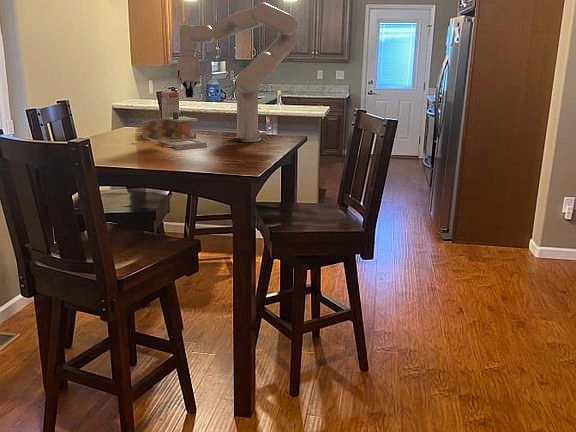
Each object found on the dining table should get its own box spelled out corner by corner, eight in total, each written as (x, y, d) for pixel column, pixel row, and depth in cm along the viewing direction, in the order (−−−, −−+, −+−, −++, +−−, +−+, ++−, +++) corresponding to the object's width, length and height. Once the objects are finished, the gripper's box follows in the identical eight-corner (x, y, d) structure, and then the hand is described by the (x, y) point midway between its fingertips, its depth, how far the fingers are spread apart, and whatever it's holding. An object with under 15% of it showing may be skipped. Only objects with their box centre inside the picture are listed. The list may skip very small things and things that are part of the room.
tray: (189, 143, 246) (189, 138, 246) (206, 147, 236) (206, 142, 235) (160, 145, 238) (160, 140, 237) (176, 150, 227) (176, 144, 227)
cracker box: (180, 137, 262) (179, 92, 256) (167, 138, 260) (165, 92, 254) (174, 133, 275) (173, 90, 269) (162, 134, 272) (160, 90, 267)
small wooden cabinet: (186, 137, 262) (186, 118, 259) (200, 141, 252) (200, 121, 250) (142, 141, 249) (141, 121, 246) (156, 145, 239) (155, 124, 236)
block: (185, 136, 254) (185, 121, 252) (190, 137, 251) (189, 122, 249) (177, 137, 252) (177, 121, 250) (182, 138, 249) (181, 122, 247)
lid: (184, 118, 259) (184, 109, 258) (198, 120, 249) (198, 112, 248) (164, 119, 253) (164, 110, 252) (178, 122, 243) (178, 113, 242)
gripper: (199, 55, 252) (199, 96, 257) (169, 54, 243) (170, 97, 248) (207, 55, 246) (208, 97, 251) (177, 54, 237) (178, 98, 242)
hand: (189, 97), depth 249 cm, fingers closed
